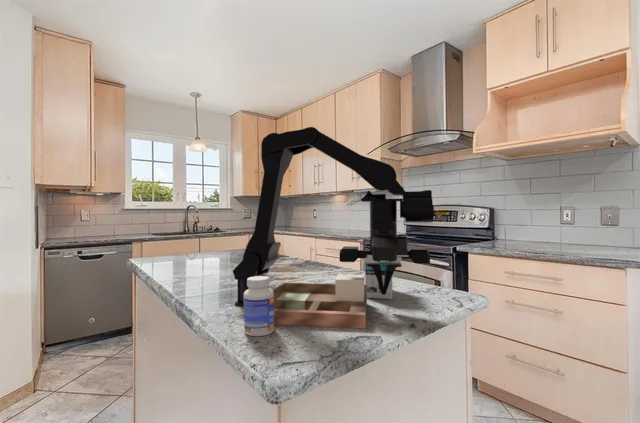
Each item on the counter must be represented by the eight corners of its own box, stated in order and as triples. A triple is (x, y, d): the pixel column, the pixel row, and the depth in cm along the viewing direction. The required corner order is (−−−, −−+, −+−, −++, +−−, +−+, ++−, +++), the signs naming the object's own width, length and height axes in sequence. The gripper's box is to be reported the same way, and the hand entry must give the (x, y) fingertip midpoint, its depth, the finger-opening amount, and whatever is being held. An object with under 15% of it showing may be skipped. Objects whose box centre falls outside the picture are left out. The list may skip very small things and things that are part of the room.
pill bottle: (276, 335, 58) (276, 279, 58) (245, 338, 57) (244, 282, 57) (271, 324, 64) (271, 274, 64) (243, 328, 62) (242, 276, 62)
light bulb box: (392, 300, 80) (392, 255, 80) (364, 298, 82) (364, 255, 82) (392, 289, 91) (391, 250, 91) (367, 288, 92) (367, 249, 92)
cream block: (335, 300, 71) (335, 279, 71) (338, 294, 76) (337, 274, 76) (363, 301, 70) (363, 280, 70) (364, 294, 76) (364, 275, 75)
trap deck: (261, 323, 64) (261, 300, 64) (283, 301, 80) (282, 282, 80) (365, 328, 61) (365, 304, 61) (366, 303, 77) (366, 284, 77)
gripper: (336, 224, 66) (337, 303, 66) (435, 224, 63) (435, 306, 63) (341, 222, 77) (342, 289, 77) (425, 221, 74) (425, 292, 74)
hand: (383, 294), depth 72 cm, fingers closed
